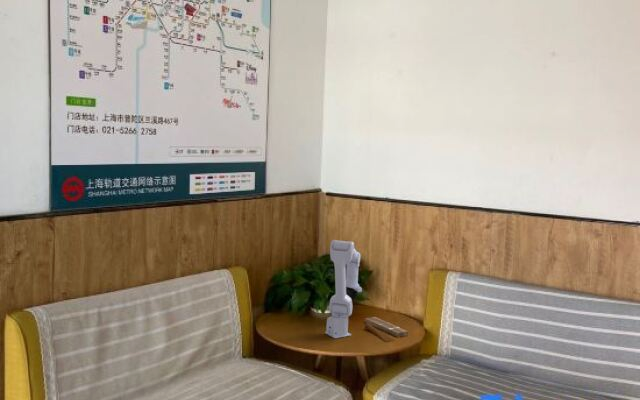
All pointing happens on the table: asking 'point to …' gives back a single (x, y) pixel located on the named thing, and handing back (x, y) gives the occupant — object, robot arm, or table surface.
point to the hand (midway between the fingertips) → (350, 302)
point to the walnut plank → (386, 327)
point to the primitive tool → (378, 333)
